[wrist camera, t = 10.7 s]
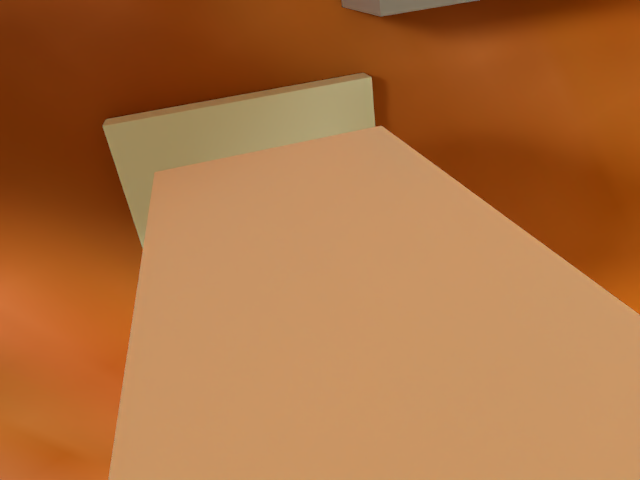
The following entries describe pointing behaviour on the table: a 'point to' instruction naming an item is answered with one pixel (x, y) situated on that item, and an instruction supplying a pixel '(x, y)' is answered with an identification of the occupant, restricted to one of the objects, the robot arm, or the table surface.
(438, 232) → the tan block
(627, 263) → the table surface
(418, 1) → the shelf bay
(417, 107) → the table surface
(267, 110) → the sage mat
